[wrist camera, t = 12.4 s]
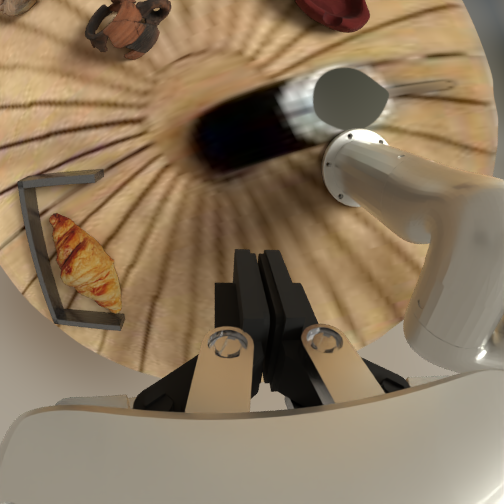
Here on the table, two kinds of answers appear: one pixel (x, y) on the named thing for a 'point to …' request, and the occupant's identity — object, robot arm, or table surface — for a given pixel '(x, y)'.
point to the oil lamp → (15, 6)
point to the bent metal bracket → (41, 257)
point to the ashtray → (337, 13)
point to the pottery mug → (128, 25)
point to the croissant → (85, 264)
